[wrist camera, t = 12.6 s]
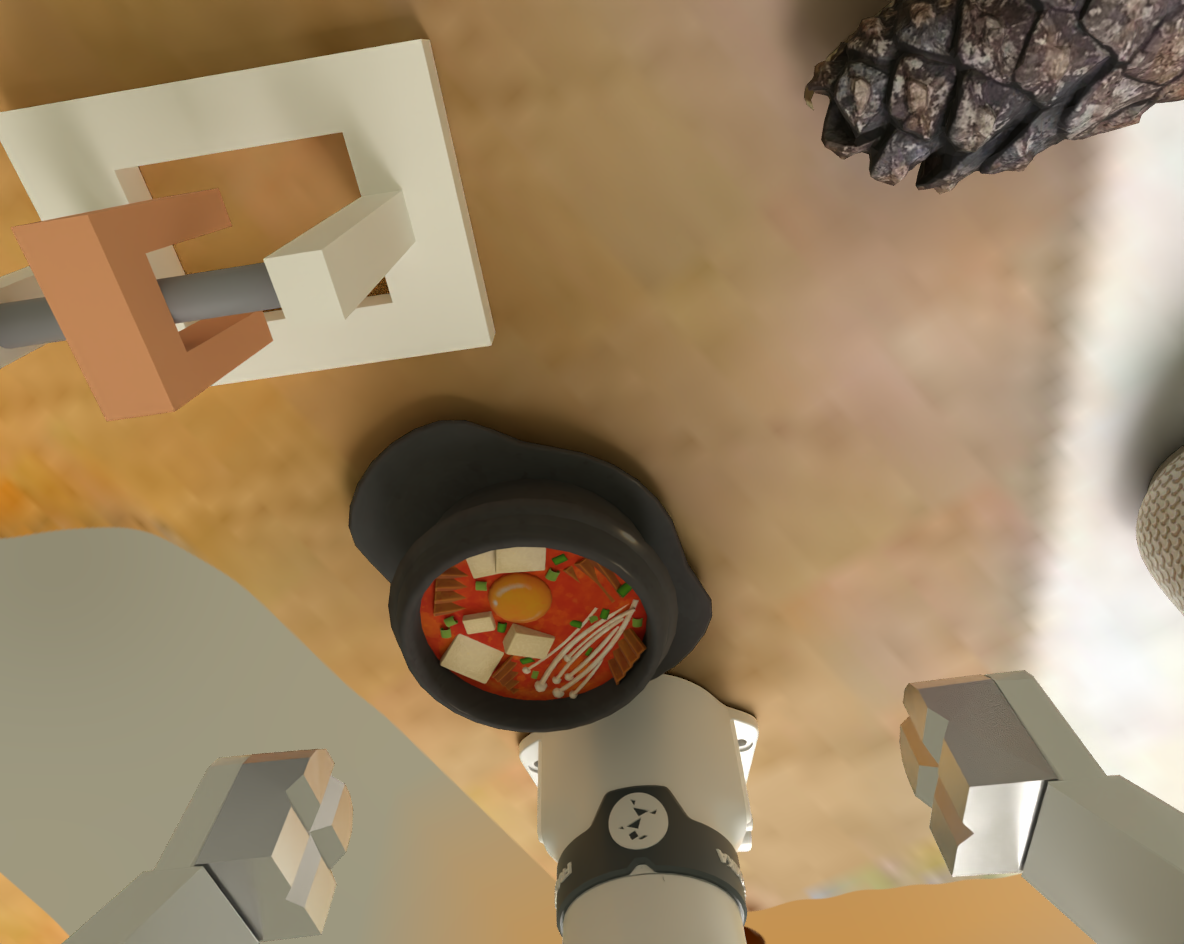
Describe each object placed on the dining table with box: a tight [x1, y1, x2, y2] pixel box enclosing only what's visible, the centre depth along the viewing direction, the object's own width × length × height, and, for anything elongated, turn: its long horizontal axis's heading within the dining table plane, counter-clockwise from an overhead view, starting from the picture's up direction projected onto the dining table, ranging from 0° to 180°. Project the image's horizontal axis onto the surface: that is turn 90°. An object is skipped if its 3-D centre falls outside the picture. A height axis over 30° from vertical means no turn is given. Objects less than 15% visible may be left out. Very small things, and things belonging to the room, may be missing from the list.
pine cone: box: [804, 0, 1184, 194], centre depth 28 cm, size 10×18×10 cm, turn 126°
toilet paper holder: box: [0, 39, 496, 386], centre depth 30 cm, size 20×14×14 cm
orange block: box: [11, 188, 273, 421], centre depth 27 cm, size 6×2×8 cm, turn 8°
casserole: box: [349, 420, 712, 733], centre depth 44 cm, size 25×19×8 cm
